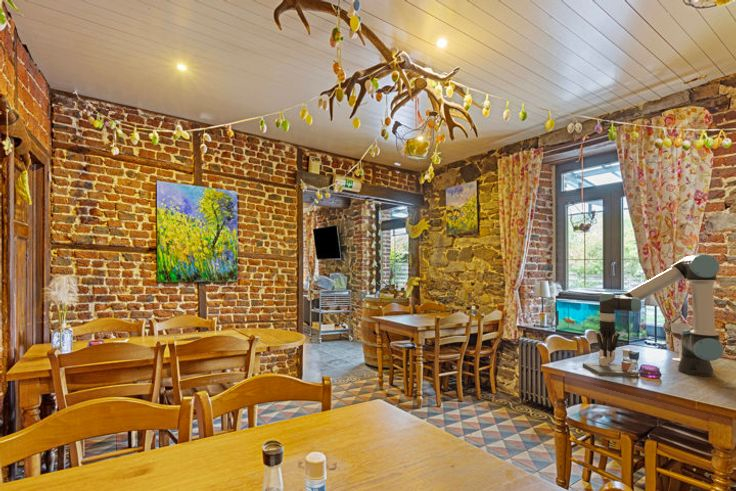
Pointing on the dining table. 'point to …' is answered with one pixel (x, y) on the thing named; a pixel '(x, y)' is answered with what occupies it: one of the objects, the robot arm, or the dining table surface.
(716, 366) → the dining table surface
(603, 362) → the fader
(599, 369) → the beige flat board
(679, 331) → the wineglass
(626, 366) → the fader
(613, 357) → the egg
